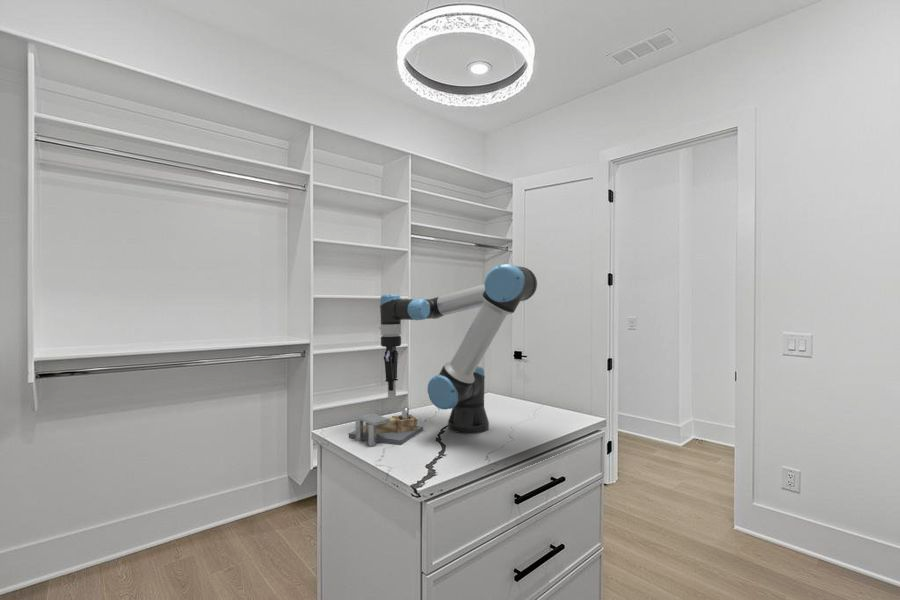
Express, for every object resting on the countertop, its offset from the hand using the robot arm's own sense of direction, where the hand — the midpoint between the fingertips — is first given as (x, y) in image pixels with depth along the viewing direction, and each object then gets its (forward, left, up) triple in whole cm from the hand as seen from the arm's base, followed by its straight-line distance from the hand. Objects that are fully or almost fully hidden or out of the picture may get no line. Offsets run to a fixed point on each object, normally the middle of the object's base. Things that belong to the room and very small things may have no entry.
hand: (391, 398), depth 165 cm
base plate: (-3, +10, -10) cm, 14 cm away
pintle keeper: (-3, +13, -10) cm, 17 cm away
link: (-5, +10, -9) cm, 14 cm away
